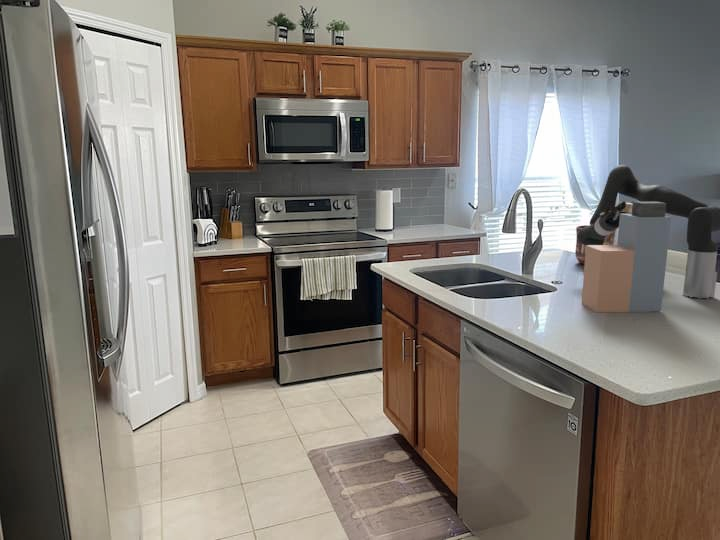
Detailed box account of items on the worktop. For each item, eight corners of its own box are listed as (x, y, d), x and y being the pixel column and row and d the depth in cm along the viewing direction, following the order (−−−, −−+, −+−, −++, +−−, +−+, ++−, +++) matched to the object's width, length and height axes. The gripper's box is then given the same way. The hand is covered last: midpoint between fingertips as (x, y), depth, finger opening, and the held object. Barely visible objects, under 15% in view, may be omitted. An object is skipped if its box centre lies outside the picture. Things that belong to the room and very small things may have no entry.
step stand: (642, 302, 197) (651, 213, 191) (660, 311, 186) (671, 217, 179) (581, 303, 197) (588, 213, 190) (596, 312, 185) (604, 217, 179)
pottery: (565, 262, 271) (568, 226, 267) (591, 259, 278) (594, 224, 274) (593, 269, 255) (597, 231, 251) (620, 266, 262) (624, 228, 258)
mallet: (610, 210, 200) (611, 198, 199) (632, 210, 200) (633, 198, 200) (640, 217, 180) (642, 203, 179) (664, 216, 180) (666, 203, 179)
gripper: (588, 214, 212) (608, 194, 195) (624, 213, 212) (647, 193, 196) (591, 232, 209) (612, 213, 193) (628, 231, 210) (651, 213, 193)
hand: (629, 203), depth 194 cm, fingers closed on mallet, 3 cm apart
